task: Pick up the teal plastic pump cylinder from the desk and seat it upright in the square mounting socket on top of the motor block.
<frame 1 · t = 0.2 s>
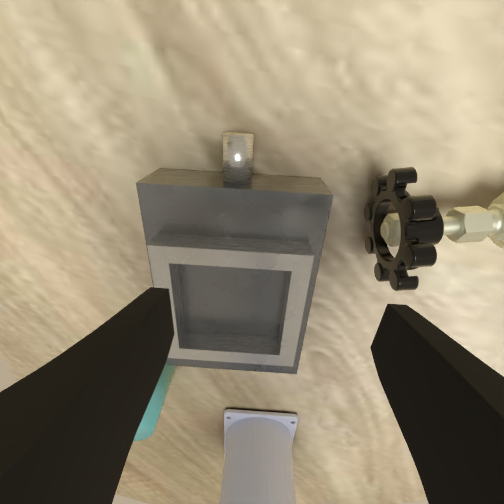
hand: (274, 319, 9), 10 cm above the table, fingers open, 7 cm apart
valve: (458, 200, 17), on the table
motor: (237, 267, 20), on the table
pump: (152, 358, 25), on the table
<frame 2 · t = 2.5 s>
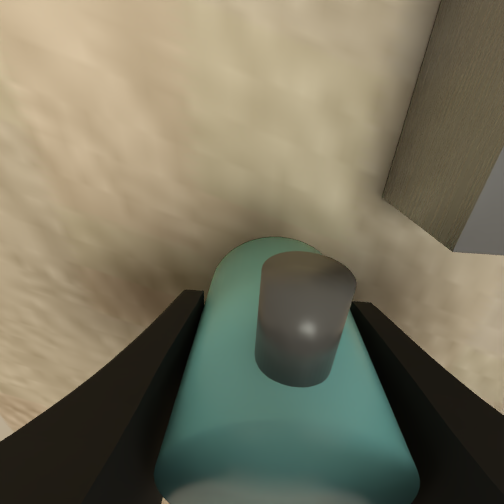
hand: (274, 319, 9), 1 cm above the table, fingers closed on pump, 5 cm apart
pump: (273, 293, 10), on the table, touching gripper
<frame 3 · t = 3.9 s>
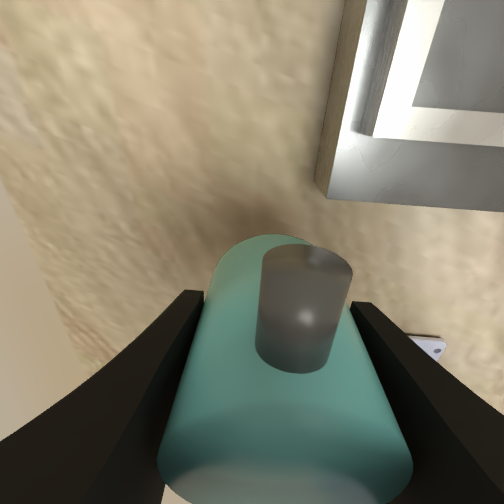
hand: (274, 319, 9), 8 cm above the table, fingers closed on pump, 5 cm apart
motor: (456, 27, 11), on the table
pump: (272, 289, 10), point 7 cm above the table, touching gripper
when the fingers open (6 cm above the table, at t = 5.6 s): pump stays where it is, resting on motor.
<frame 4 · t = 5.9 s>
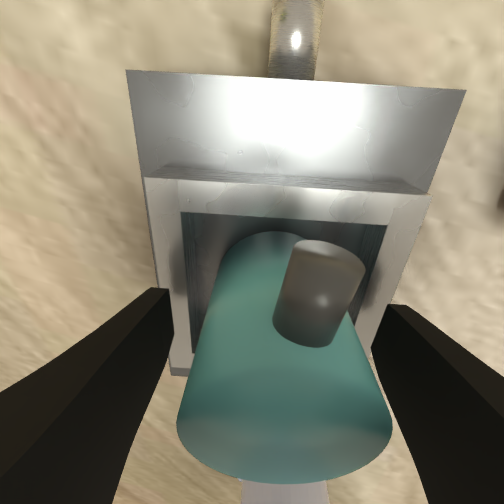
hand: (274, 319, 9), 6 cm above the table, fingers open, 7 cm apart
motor: (271, 240, 14), on the table
pump: (273, 282, 11), point 4 cm above the table, touching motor
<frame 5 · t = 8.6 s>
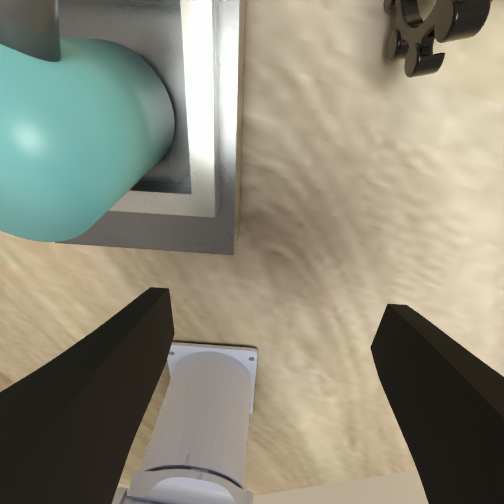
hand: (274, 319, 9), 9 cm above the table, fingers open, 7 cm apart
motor: (151, 105, 14), on the table
pump: (117, 112, 11), point 4 cm above the table, tilted 9°, touching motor
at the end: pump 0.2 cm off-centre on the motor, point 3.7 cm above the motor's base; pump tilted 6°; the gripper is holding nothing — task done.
